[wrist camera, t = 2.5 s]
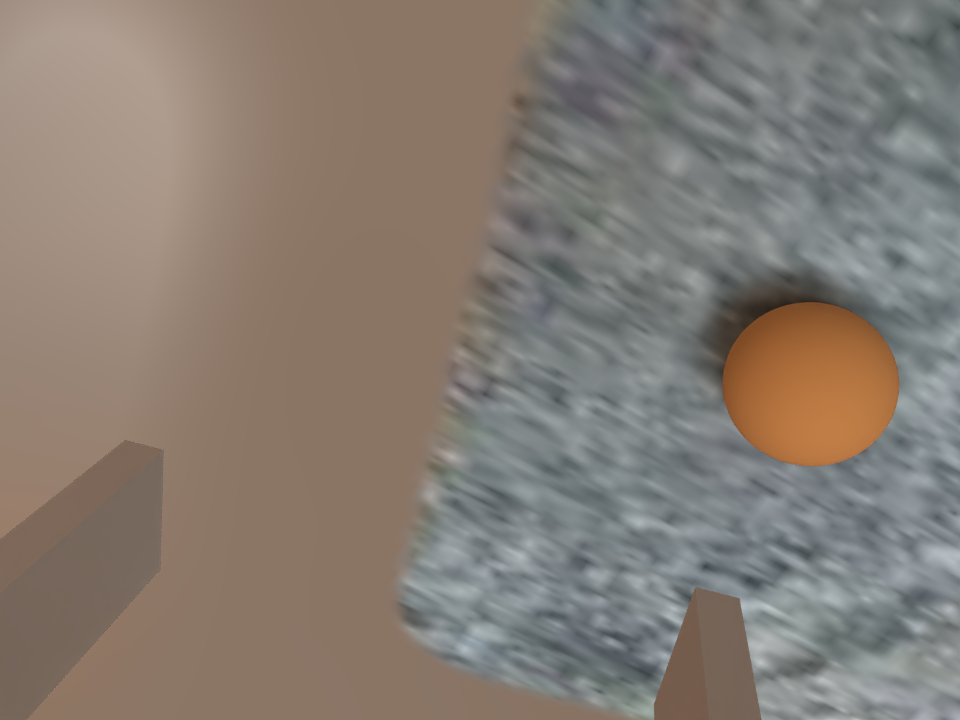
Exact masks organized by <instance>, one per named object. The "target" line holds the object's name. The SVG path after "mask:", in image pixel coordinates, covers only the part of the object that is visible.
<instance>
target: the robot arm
mask: <svg viewBox="0 0 960 720" xmlns="http://www.w3.org/2000/svg"><path fill="white" fill-rule="evenodd" d="M163 453H164V451H163V450H162V449H158V448H154V447H150V446H146V445H142V444H138V443H134V442H130V441H127V440H125V441H124V442H122V443H121V444H120V445H118V446H117V447H116V448H115V449H113V450H112V451H111V452H110V453H108V454H107V455H106V456H104V457H103V458H102V459H101V460H99V461H98V462H97V463H96V464H94V465H93V466H92V467H91V468H89V469H88V470H87V471H86V472H84V473H83V474H82V475H81V476H79V477H78V478H77V479H75V480H74V481H73V482H72V483H71V484H69V485H68V486H67V487H65V488H64V489H63V490H62V491H60V492H59V493H58V494H57V495H55V496H54V497H53V498H52V499H50V500H49V501H48V502H46V503H45V504H44V505H43V506H42V507H40V508H39V509H38V510H36V511H35V512H34V513H33V514H31V515H30V516H29V517H28V518H26V519H25V520H24V521H23V522H21V523H20V524H19V525H17V526H16V527H15V528H14V529H12V530H11V531H10V532H9V533H8V534H6V535H5V536H4V537H3V538H1V539H0V720H27V719H28V718H29V716H30V715H31V714H32V713H33V712H34V711H35V710H36V709H37V707H38V706H39V705H40V704H41V703H42V702H43V701H44V700H45V699H46V697H47V696H48V695H49V694H50V693H51V692H52V691H53V690H54V688H55V687H56V686H57V685H58V684H59V683H60V682H61V681H62V679H63V678H64V677H65V676H66V675H67V674H68V673H69V672H70V670H71V669H72V668H73V667H74V666H75V665H76V664H77V663H78V661H79V660H80V659H81V658H82V657H83V656H84V655H85V653H86V652H87V651H88V650H89V649H90V648H91V647H92V646H93V645H94V643H95V642H96V641H97V640H98V639H99V638H100V637H101V636H102V634H103V633H104V632H105V631H106V630H107V629H108V628H109V627H110V626H111V624H112V623H113V622H114V621H115V620H116V619H117V618H118V616H119V615H120V614H121V613H122V612H123V611H124V610H125V609H126V608H127V606H128V605H129V604H130V603H131V602H132V601H133V600H134V599H135V597H136V596H137V595H138V594H139V593H140V592H141V591H142V589H143V588H144V587H145V586H146V585H147V584H148V583H149V582H150V581H151V579H152V578H153V577H154V576H155V575H156V574H157V573H158V572H159V570H160V564H161V528H162V524H161V523H162V490H163ZM654 720H761V715H760V709H759V704H758V698H757V692H756V687H755V681H754V676H753V670H752V665H751V659H750V654H749V648H748V643H747V637H746V632H745V626H744V621H743V615H742V610H741V604H740V599H739V598H736V597H732V596H728V595H724V594H720V593H717V592H713V591H709V590H705V589H701V588H697V587H695V589H694V592H693V595H692V598H691V601H690V604H689V606H688V609H687V612H686V615H685V618H684V621H683V623H682V626H681V629H680V632H679V635H678V638H677V641H676V643H675V646H674V649H673V652H672V655H671V658H670V660H669V663H668V666H667V669H666V672H665V675H664V677H663V680H662V683H661V686H660V689H659V692H658V694H657V697H656V700H655V703H654Z"/></svg>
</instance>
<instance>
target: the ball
mask: <svg viewBox="0 0 960 720" xmlns="http://www.w3.org/2000/svg"><path fill="white" fill-rule="evenodd" d="M898 394H899V376H898V370H897V365H896V362H895V358H894V356H893V354H892V352H891V350H890V348H889V346H888V344H887V343H886V341H885V340H884V338H883V337H882V336H881V334H880V333H879V332H878V331H877V330H876V329H875V328H874V327H873V326H872V325H870V324H869V323H868V322H867V321H866V320H864V319H863V318H861V317H860V316H858V315H856V314H855V313H853V312H851V311H848V310H846V309H844V308H841V307H838V306H834V305H831V304H825V303H817V302H805V303H795V304H790V305H785V306H782V307H779V308H776V309H774V310H772V311H769V312H767V313H765V314H764V315H762V316H760V317H759V318H757V319H756V320H755V321H753V322H752V323H751V324H750V325H749V326H748V327H747V328H746V329H745V330H744V331H743V332H742V333H741V334H740V335H739V337H738V338H737V339H736V341H735V342H734V344H733V346H732V347H731V349H730V352H729V354H728V357H727V359H726V363H725V367H724V371H723V395H724V400H725V404H726V407H727V410H728V413H729V415H730V417H731V419H732V421H733V423H734V425H735V426H736V427H737V429H738V430H739V431H740V433H741V434H742V435H743V436H744V437H745V438H746V439H747V440H748V441H749V442H750V443H751V444H752V445H753V446H755V447H756V448H757V449H759V450H760V451H762V452H763V453H765V454H767V455H768V456H770V457H773V458H775V459H777V460H780V461H783V462H786V463H790V464H796V465H802V466H822V465H829V464H834V463H837V462H841V461H844V460H846V459H849V458H851V457H853V456H855V455H857V454H859V453H860V452H862V451H863V450H865V449H866V448H868V447H869V446H870V445H871V444H872V443H873V442H875V441H876V439H877V438H878V437H879V436H880V435H881V434H882V433H883V431H884V430H885V428H886V427H887V425H888V424H889V422H890V420H891V418H892V416H893V414H894V411H895V408H896V405H897V399H898Z"/></svg>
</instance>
